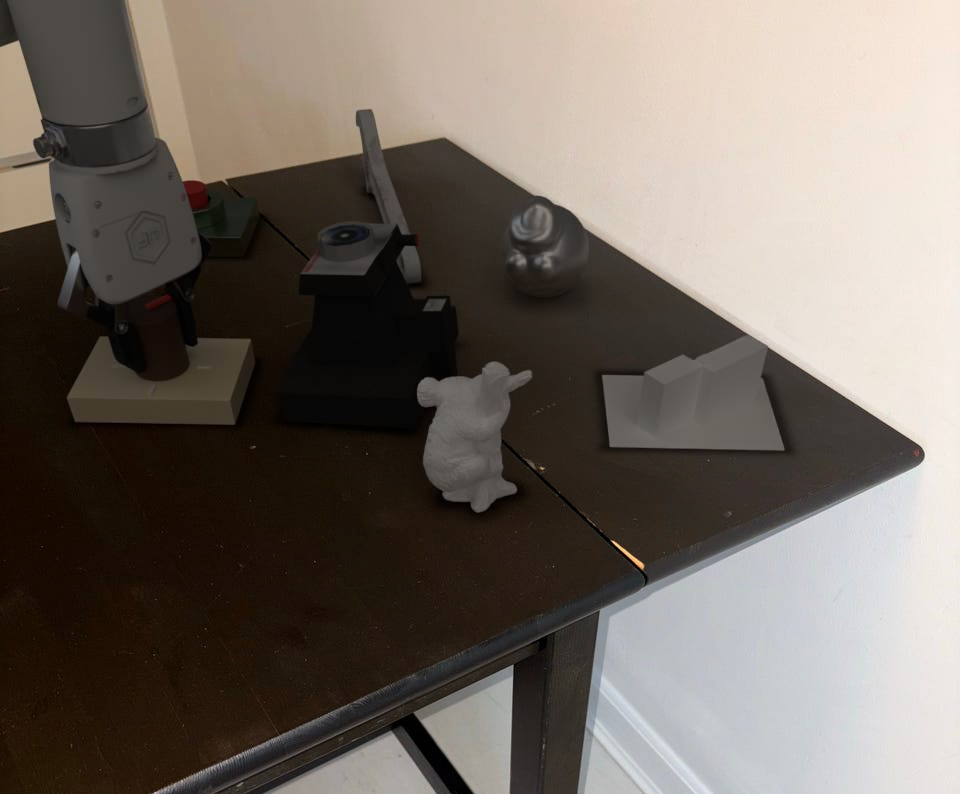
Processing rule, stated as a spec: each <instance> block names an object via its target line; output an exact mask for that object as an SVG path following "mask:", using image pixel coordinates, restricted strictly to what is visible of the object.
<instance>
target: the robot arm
mask: <svg viewBox="0 0 960 794" xmlns="http://www.w3.org/2000/svg"><path fill="white" fill-rule="evenodd" d="M131 26H132V25H131V23H130V17H129V14H128V9H127V4H126V0H0V48H2V47H5V46H8V45H11V44H14V43H16V42H18V43H19V46H20V49H21V53H22V56H23V60H24V64H25V67H26V70H27V73H28V76H29V79H30V83H31V86H32V90H33V92H34V93H33V94H34V96H35V100H36V102H37V106H38V109H39V113H40V116H41V119H40V124H41V127H42V129H43V132H42V133H41V135H40V136H39V137H36V138H33V140H32V145H33V148H34V151H35V153H36V155H38V156H39V157H40V158H41V159H46V158H49V157H51V158H53V159H54V160H51V161H50V162H49V163H48V177H49V186H50V194H51V195H50V196H51V202H52V207H53V213H54V218H55V224H56V228H57V232H58V237H59V241H60V245H61V249H62V253H63V256H64V260H65V263H66V266H67V270H66V273H65V276H64V278H63V279H64V280H63V283H62V287H61V289H60V293H59V297H58V300H57V308H59V309H60V310H62V311H64V312H65V313H67V314H69V315H71V316H74V317H77V318H81V319H84V320H88V321H92V322H93V323H96V324H97V325H100V326H103V327H104V328H105V331H106V334H107V337H108V338H109V341H110V345H111V348H112V351H113V355H114V357H115V359H116V360H117V361H118V362H119V363H120V364H122V365H124V366H126V367H128V368H129V369H131V370H133V371H135V372H137V373H138V374H142V373H144V372H145V371H146V369H147V367H146V363H145V360H144V356H143V352H142V349H141V345H140V341H139V338H138V334H137V332H136V330H135V329H133V328H131V327H129V320H128V301H130V300H132V299H134V298H138V297H142V296H144V295H146V294H147V293H150V292H152V291H154V290H156V289H158V288H160V287H163V289H164V292H162V293H161V294H160V296H164V295H166V294H167V295H169V296H171V300H173V301H174V302H175V304H176V307H177V311H178V315H179V319H180V324H181V328H182V332H183V336H184V340H185V344H186V345H188V346H191V347H194V346H195V345H197V344H198V340H197V338H198V337H197V332H196V329H197V323H196V320H195V316H194V311H193V307H192V306H193V305H192V301H193V300H194V299H195V297H196V290H195V286H196V283H197V281H198V279H199V276H200V274H201V272H202V265H203V264H204V263H205V261H206V260H207V258H208V257H207V256H208V254H209V252H210V250H211V248H212V244H211V242H210V241H209V240H208V239H207V238H205V237H204V236H203V235H202V234H201V233H200V232H199V231H197V227H196V223H195V220H194V216H193V213H192V209H191V206H190V203H189V199H188V196H187V193H186V190H185V187H184V184H183V181H184V180H183V179H182V177H181V174H180V172H179V168H178V166H177V164H176V161H175V160H174V157H173V155H172V152H171V151H170V147H169V146H168V144H167V142H166V141H165V140H163V139H161V138H157V137H156V134H155V130H154V124H153V120H152V115H151V111H150V108H149V103H148V98H147V93H146V90H145V84H144V80H143V76H142V75H143V74H142V72H141V68H140V63H139V58H138V54H137V49H136V45H135V41H134V35H133V31H132V27H131ZM87 290H92V292H93V293H94V303H92V302H90V301H87V300H85V295H86V292H87Z"/></svg>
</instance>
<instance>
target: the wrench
mask: <svg viewBox="0 0 960 794" xmlns="http://www.w3.org/2000/svg"><path fill="white" fill-rule="evenodd" d="M355 124H356V125H355V126H356V127H358V130H359V135H360V140H361V147H362V148H361V149H362V154H361V161H362V165H363V171H364V175H365V185H366V193H367V194H371V193H372V195H374V197H375V200H376V204H377V206H378V209H379V212H380V215H381V219H382V221H383V224H398V226H399V229H400V231H401V233H402V234H411V232H410V229H409V226H408V223H407V221H406V219H405V216H404V213H403V210H402V206H401V204H400V202H399V199H398V196H397V194H396V190H395V188H394V185H393V183H392V179H391V176H390V173H389V171H388V169H387V166H386V162H385V158H384V153H383V150H382V146H381V141H380V137H379V132H378V127H377V123H376V117H375V113H374V111H373V109H372V108H367V109H358V110H356V112H355ZM396 262H397V264H398V266H399V268H400V270H401V272H402V274H403V276H404V278H405V280H406V282H407V284H408V285H412V284H413V285H414V284H421V282H422V267H421V262H420V256H419V253H418V251H417V248H416V246H405V247H404V248H403V250H402V252H401V253H400V255H399V257H398V258H397V260H396Z"/></svg>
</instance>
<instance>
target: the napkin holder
mask: <svg viewBox="0 0 960 794" xmlns="http://www.w3.org/2000/svg"><path fill="white" fill-rule="evenodd" d="M768 348H769V345H767V344H766V343H764V342H762V341H761V340H758V339H756V338H754V337H753V336H752V335H749V334H746V335H743V336H742V337H739V338H737V339H735V340H733V341H731V342H728V343H727V344H724V345H722V346H720V347H717V348H716V349H714V350H712V351H710V352H707V353H703V354H701V355H699V356H697V357H696V358H695V359H692V358H690V357H688V356H687V355H685V354H681V355H678V356H676V357H675V358H672V359H670V360H668V361H666V362H664V363H661V364H659V365H657V366H655V367H652V368H650V369H648V370H645V371H644V373H643V375H628V374H627V375H623V374H621V375H620V374H602V375H601V379H602V387H603V396H604V397H603V398H604V406H605V416H606V423H607V431H608V441H609V447H610V448H636V449H637V448H639V449H640V448H643V449H645V448H646V449H687V450H688V449H690V450H694V449H696V450H697V449H698V450H736V451H737V450H738V451H740V450H742V451H744V450H745V451H786V450H785V446H784V443H783V440H782V437H781V433H780V430H779V427H778V424H777V420H776V417H775V414H774V413H775V412H774V411H773V408H772V404H771V400H770V397H769V394H768V392H767V391H768V390H767V388H766V385H765V381H764V378H763V377H762V373H763V370H764V365H765V361H766V357H767V353H768V350H769V349H768Z"/></svg>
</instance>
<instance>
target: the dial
mask: <svg viewBox="0 0 960 794" xmlns="http://www.w3.org/2000/svg"><path fill="white" fill-rule="evenodd" d="M128 320H129V327H131V328H133V329H135V330H136V332H137V334H138V338H139V341H140V345H141V349H142V352H143V356H144V360H145V363H146V367H147V369H146V371H145V372H144V373H142V374H138V373H137V372H135V373H136V375H137V376H139V377H140V378H142V379H145V380H149V381H164V380H169V379H173V378H175V377H178V376H180V375H181V374H183V373H184V372H185V371H186V370H187V369H188V367H189V364H190V362H189V357H188V353H187V349H186V345H185V340H184V336H183V332H182V328H181V324H180V319H179V315H178V311H177V307H176V304H175V302H174V301H173V300H171V296H169V295H167V294H166V295H164V296H161V295H155V294H153V295H151V294H150V295H141V296H139V297H137V298H134V299H132V300H130V301H128Z"/></svg>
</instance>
